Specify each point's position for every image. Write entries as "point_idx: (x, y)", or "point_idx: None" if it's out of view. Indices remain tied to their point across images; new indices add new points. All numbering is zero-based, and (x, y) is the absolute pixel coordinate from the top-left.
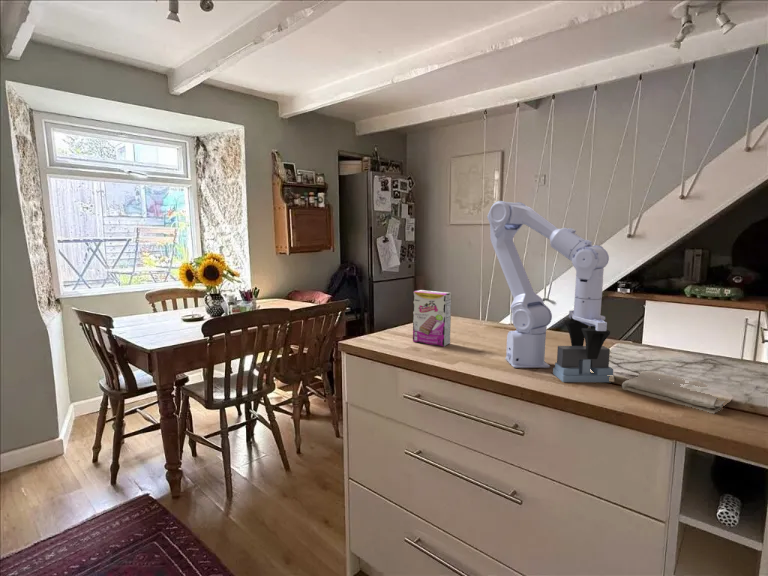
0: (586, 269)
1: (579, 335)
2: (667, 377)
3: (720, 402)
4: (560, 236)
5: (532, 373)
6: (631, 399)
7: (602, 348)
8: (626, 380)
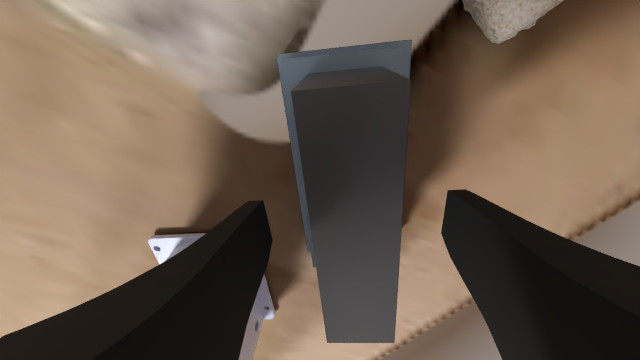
0: None
1: (228, 288)
2: None
3: None
4: None
5: (315, 284)
6: (616, 61)
7: (383, 137)
8: (486, 1)
